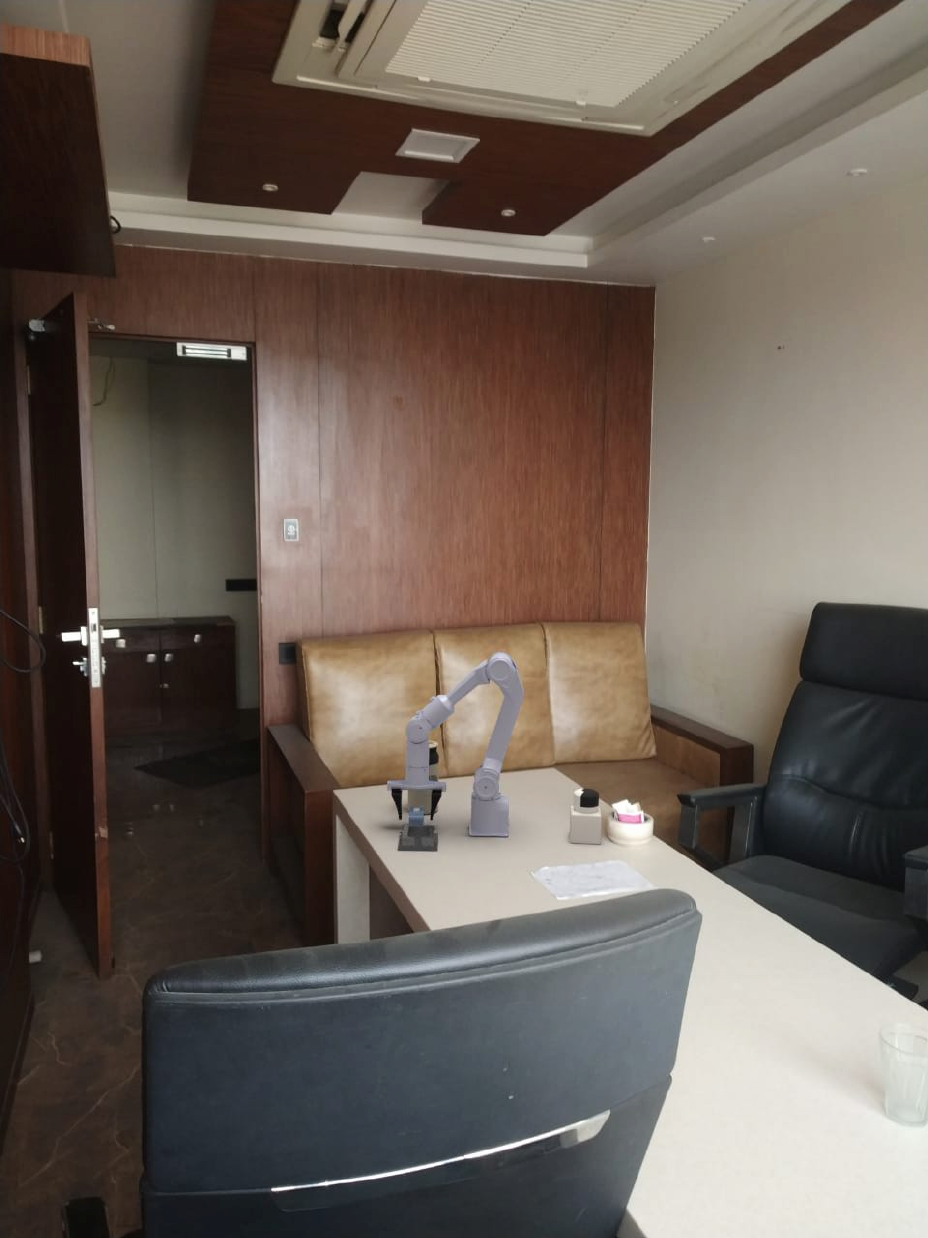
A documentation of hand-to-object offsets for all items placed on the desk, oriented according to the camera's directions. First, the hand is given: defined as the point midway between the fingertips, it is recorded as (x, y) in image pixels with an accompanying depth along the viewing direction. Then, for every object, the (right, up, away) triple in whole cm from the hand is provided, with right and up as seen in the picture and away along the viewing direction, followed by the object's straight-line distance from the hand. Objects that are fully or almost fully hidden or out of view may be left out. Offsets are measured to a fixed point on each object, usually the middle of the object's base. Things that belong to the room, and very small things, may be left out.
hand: (416, 819), depth 216 cm
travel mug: (+1, -1, +14) cm, 14 cm away
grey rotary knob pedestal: (+41, -4, -4) cm, 41 cm away
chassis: (+1, -4, -10) cm, 10 cm away
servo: (0, -3, 0) cm, 3 cm away
